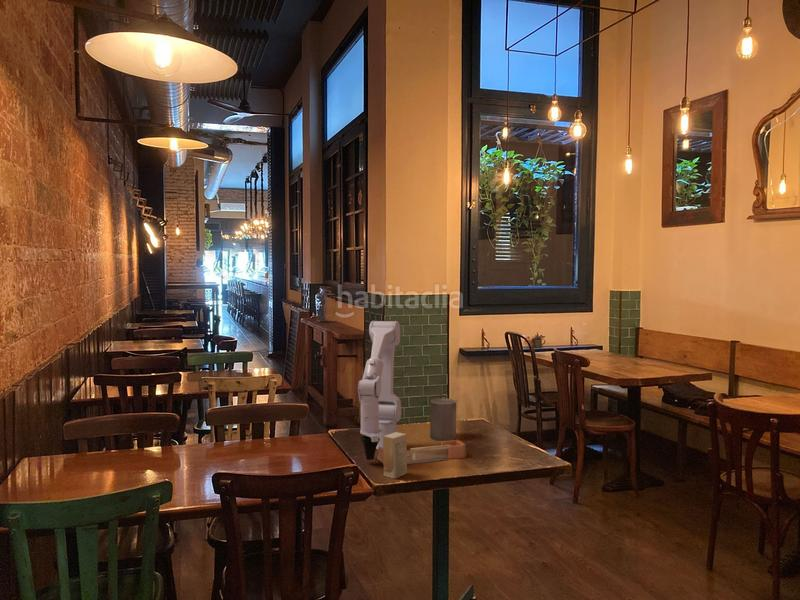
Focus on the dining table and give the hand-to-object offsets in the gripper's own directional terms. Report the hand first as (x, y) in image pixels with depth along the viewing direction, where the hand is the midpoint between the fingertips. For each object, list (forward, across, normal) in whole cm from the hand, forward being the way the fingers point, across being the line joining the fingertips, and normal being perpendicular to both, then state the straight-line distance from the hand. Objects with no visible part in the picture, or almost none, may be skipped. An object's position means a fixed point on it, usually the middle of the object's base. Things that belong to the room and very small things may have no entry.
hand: (369, 459), depth 197 cm
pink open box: (+1, +1, -28) cm, 28 cm away
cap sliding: (+1, 0, -7) cm, 7 cm away
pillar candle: (+2, +24, -34) cm, 42 cm away
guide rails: (+1, +1, -14) cm, 14 cm away
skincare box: (+2, -14, -4) cm, 15 cm away
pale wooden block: (+2, +1, -21) cm, 21 cm away
